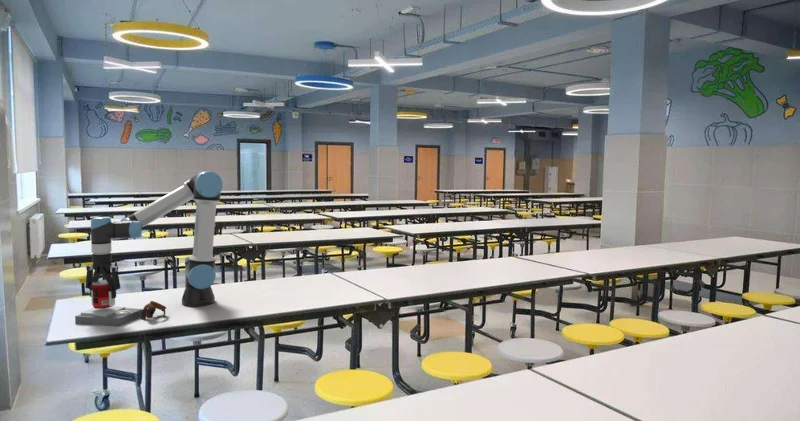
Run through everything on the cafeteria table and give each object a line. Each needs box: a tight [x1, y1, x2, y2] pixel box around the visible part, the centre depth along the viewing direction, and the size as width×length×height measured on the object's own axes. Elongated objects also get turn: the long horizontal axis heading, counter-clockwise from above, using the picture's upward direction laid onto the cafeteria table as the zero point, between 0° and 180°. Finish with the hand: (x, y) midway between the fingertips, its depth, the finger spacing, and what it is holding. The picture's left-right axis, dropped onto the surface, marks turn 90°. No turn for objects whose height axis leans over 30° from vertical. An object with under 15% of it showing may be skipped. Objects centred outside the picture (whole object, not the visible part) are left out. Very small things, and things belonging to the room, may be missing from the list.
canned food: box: [92, 279, 112, 309], centre depth 231 cm, size 8×8×11 cm
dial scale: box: [74, 305, 143, 327], centre depth 232 cm, size 20×16×4 cm
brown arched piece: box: [140, 300, 167, 320], centre depth 235 cm, size 12×10×8 cm
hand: (103, 304), depth 232 cm, fingers closed on canned food, 8 cm apart
